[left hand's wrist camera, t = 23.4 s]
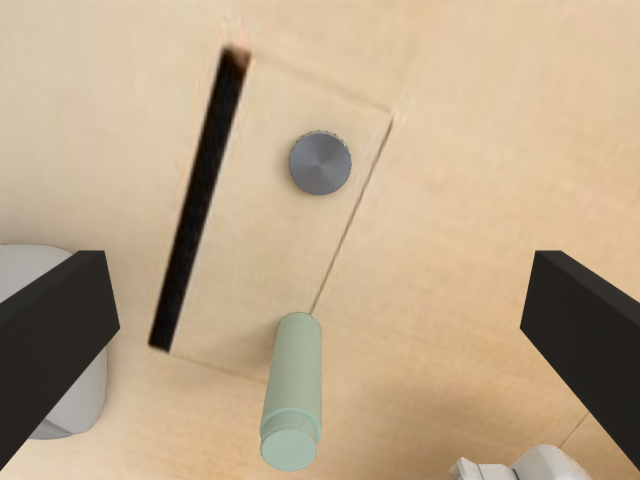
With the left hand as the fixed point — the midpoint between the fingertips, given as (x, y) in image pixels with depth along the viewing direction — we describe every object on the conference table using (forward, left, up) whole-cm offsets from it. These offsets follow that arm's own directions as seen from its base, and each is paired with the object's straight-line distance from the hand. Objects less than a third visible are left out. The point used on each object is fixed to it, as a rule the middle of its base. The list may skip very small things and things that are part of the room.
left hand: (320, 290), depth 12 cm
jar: (+14, -12, -26) cm, 32 cm away
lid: (0, 0, -24) cm, 24 cm away
